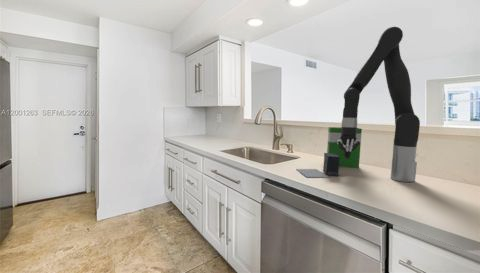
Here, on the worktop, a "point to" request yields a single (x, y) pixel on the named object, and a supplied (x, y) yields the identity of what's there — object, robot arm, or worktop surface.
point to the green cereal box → (333, 148)
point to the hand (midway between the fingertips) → (347, 158)
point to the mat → (312, 173)
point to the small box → (331, 164)
